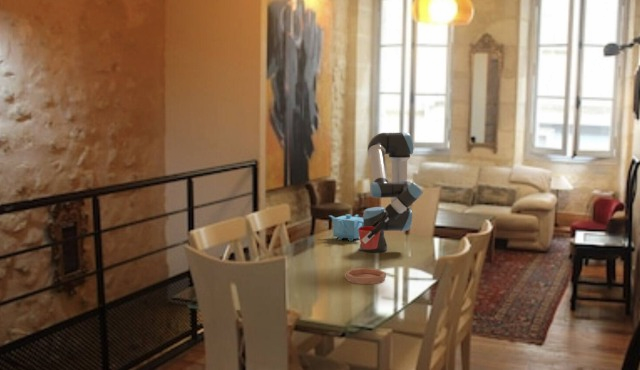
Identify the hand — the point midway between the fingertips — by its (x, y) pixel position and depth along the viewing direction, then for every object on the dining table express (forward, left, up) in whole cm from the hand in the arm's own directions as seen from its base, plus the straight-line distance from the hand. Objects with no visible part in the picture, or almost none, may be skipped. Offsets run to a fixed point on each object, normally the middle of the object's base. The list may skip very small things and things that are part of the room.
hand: (363, 239), depth 336 cm
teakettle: (-24, -64, -14) cm, 70 cm away
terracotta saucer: (+10, +20, -14) cm, 26 cm away
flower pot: (-3, +1, -4) cm, 5 cm away
